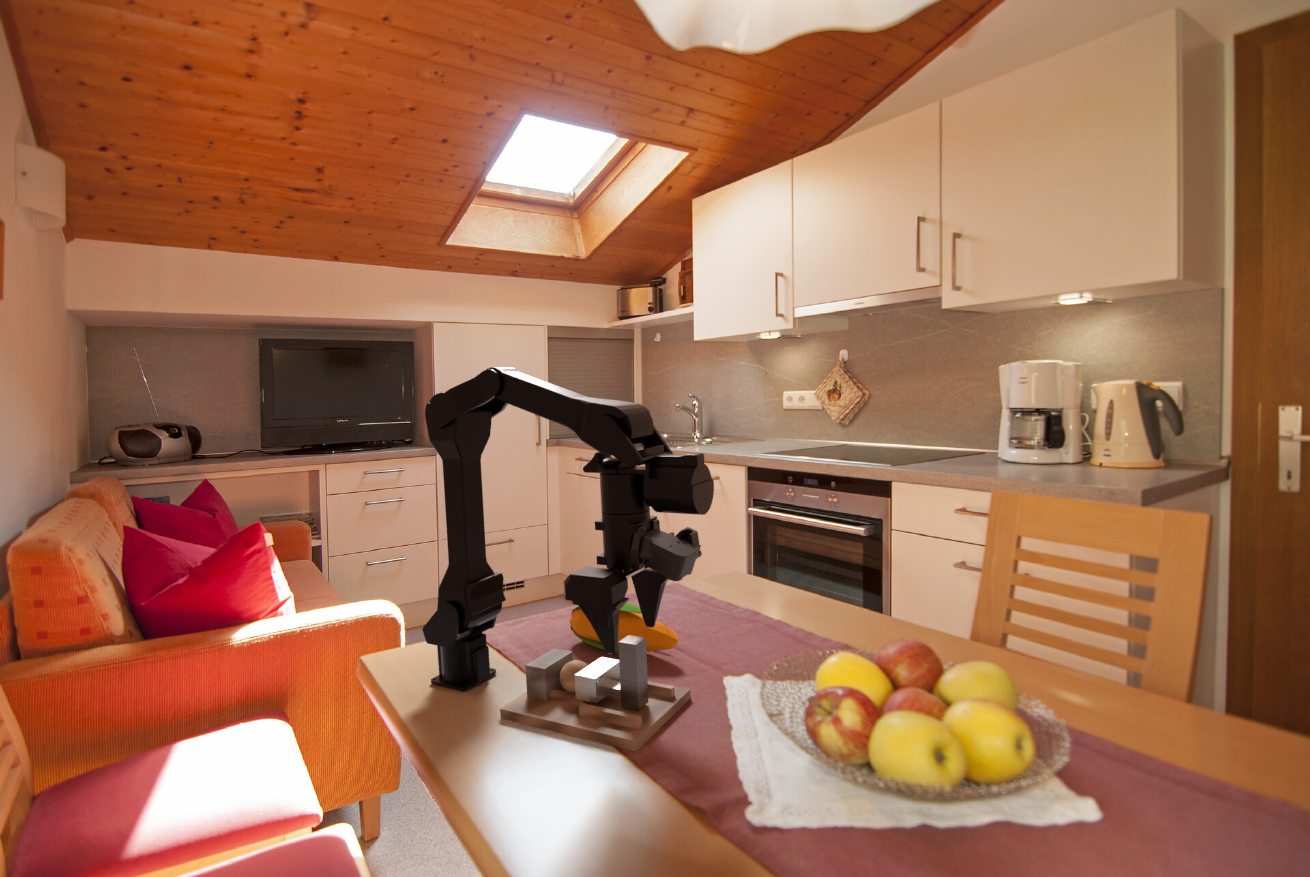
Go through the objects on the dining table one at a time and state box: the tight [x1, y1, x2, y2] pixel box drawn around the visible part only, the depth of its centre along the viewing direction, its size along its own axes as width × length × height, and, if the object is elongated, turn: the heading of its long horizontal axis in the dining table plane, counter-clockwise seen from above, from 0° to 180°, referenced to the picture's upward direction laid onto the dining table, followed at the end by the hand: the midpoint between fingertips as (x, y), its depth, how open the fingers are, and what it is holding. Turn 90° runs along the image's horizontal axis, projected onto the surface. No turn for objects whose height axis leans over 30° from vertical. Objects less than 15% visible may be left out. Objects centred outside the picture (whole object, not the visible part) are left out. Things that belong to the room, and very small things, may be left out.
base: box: [499, 647, 692, 752], centre depth 87 cm, size 19×14×5 cm
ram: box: [575, 635, 649, 711], centre depth 85 cm, size 8×6×8 cm
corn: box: [569, 602, 679, 654], centre depth 106 cm, size 7×8×20 cm
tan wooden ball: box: [560, 659, 589, 693], centre depth 88 cm, size 4×4×4 cm
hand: (631, 639), depth 84 cm, fingers open, 9 cm apart
